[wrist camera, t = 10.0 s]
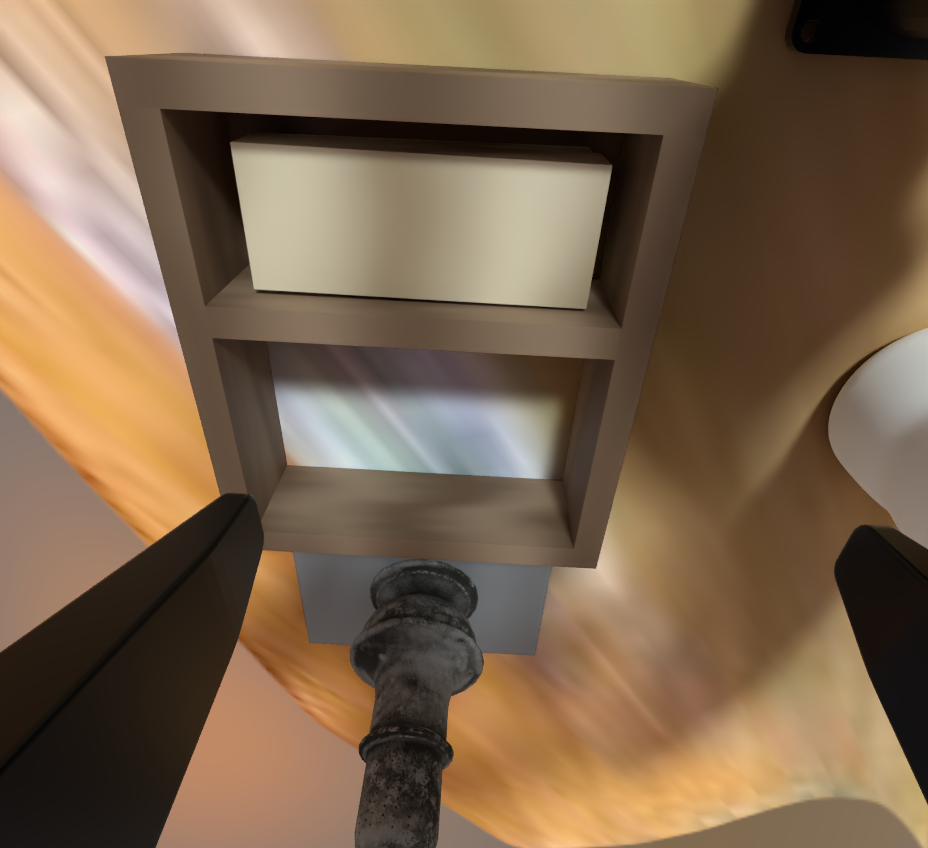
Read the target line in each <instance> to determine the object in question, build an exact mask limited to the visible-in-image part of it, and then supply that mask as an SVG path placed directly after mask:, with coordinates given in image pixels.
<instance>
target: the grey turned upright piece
mask: <svg viewBox="0 0 928 848" xmlns="http://www.w3.org/2000/svg"><path fill="white" fill-rule="evenodd" d="M370 599H371V601H372V604H373V606H374V608H375V609H376V611H375V612H374V613H373V614H372V616H371V617H370V618H369V620H368V621H367V622H366V624H365V626H364V628H363V630H362V632H361V633H360V634H359V635H358V636H357V637H356V638H355V639H354V641H353V644H352V646H351V648H350V662H351V664H352V667H353V669H354V671H355V672H356V674H357V675H358V676H359V677H360V678H361V679H362V680H363V681H364V682H365V683H367V684H368V685H370V686H372V687H373V688H375V704H374V710H373V716H372V721H371V727H370V733H369V734H368V735H367V736H366V737H364V738H363V739H362V741H361V742H360V744H359V754H360V756H361V758H362V760H363V761H364V762H365V763H366V769H365V774H364V780H363V787H362V792H361V798H360V805H359V810H358V816H357V822H356V828H355V848H436V845H437V841H438V831H439V815H440V799H441V783H442V770H443V769H445V768H446V767H448V765H449V764H450V763H451V762H452V759H453V753H454V752H453V749H452V746H451V745H450V744H449V743H448V742H447V741H446V735H447V718H448V705H449V701H450V698H451V696H453V695H455V694H458V693H460V692H462V691H465V690H466V689H467V688H469V687H470V686H471V685H473V684H474V683H475V682H476V681H477V679H478V678H479V676H480V675H481V673H482V669H483V664H484V660H483V656H482V652H481V649H480V648H479V647H478V645H477V643H476V639H475V635H474V632H473V630H472V628H471V625H470V623H469V621H468V619H469V618H470V617H471V616H472V614H473V613H474V611H475V610H476V608H477V603H478V594H477V589H476V586H475V585H474V583H473V582H472V580H471V579H470V578H469V577H468V576H467V575H466V574H465V573H463V572H462V571H461V570H459V569H457V568H455V567H453V566H451V565H450V564H447V563H443V562H440V561H436V560H428V559H412V560H404V561H401V562H397V563H394V564H391V565H390V566H388V567H386V568H384V569H383V570H381V571H380V572H379V573H378V575H377V576H376V577H375V578H374V580H373V582H372V585H371V587H370Z"/></svg>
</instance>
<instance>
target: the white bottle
mask: <svg viewBox="0 0 928 848" xmlns="http://www.w3.org/2000/svg"><path fill="white" fill-rule="evenodd" d="M828 435H829V441H830V444H831V447H832V450H833V452H834V454H835V456H836V457H837V459H838V460H839V462H840V463H841V464H842V466H843V467H844V468H845V469H846V471H847V472H848V473H849V474H850V475H851V476H852V477H853V479H854V480H855V481H856V482H857V483H858V484H859V485H860V486H861V487H862V488H863V489H864V490H865V491H866V492H867V493H868V494H869V495H870V496H871V497H872V498H873V499H874V500H875V501H876V502H877V503H878V504H880V505H881V506H882V507H883V508H884V509H886V510H887V511H888V512H889V514H890V515H891V517H892V519H893V521H894V523H895V524H896V526H897V528H898V529H899V531H900V532H901V533H903V534H904V535H906V536H908V537H909V538H911V539H912V540H914V541H916V542H917V543H919V544H921V545H922V546H924V547H925V548H927V549H928V328H925V329H922V330H919V331H917V332H914V333H912V334H909V335H907V336H905V337H903V338H901V339H899V340H897V341H895V342H893V343H891V344H890V345H888V346H886V347H885V348H883V349H882V350H880V351H879V352H877V353H876V354H875V355H873V356H872V357H871V358H869V359H868V360H867V361H866V362H865V363H863V364H862V365H861V366H860V367H859V368H858V369H857V370H856V371H855V372H854V373H853V375H852V376H851V377H850V378H849V379H848V381H847V382H846V383H845V385H844V386H843V387H842V389H841V391H840V392H839V394H838V396H837V398H836V400H835V402H834V404H833V407H832V410H831V413H830V417H829V423H828Z"/></svg>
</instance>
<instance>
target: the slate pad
mask: <svg viewBox="0 0 928 848" xmlns="http://www.w3.org/2000/svg"><path fill="white" fill-rule="evenodd" d="M293 554H294V560H295V565H296V571H297V576H298V582H299V587H300V593H301V598H302V604H303V609H304V615H305V621H306V626H307V632H308V637H309V643H321V644H339V645H352V644H353V641H354V639H355V638H356V637H357V636H358V635H359V634H360V633H361V632H362V630H363V628H364V626H365V624H366V622H367V621H368V620H369V618H370V617H371V616H372V614H373V613H374V612H375V611H376V609H375V608H374V606H373V604H372V601H371V599H370V587H371V585H372V582H373V580H374V578H375V577H376V576H377V575H378V573H379V572H380V571H381V570H383V569H384V568H386V567H388V566H390V565H391V564H394V563H397V562H401V561H404V560H412V559H415V558H397V557H379V556H361V555H343V554H325V553H307V552H293ZM428 560H433V559H428ZM436 561H440V562H443V563H447V564H450V565H451V566H453V567H455V568H457V569H459V570H461V571H462V572H463V573H465V574H466V575H467V576H468V577H469V578H470V579H471V580H472V582H473V583H474V585H475V586H476V589H477V594H478V603H477V608H476V610H475V611H474V613H473V614H472V616H471V617H470V618H469V619H468V621H469V623H470V625H471V628H472V630H473V632H474V635H475V639H476V643H477V645H478V647H479V648H480V649H481V652H482V653H499V654H517V655H535V651H536V646H537V641H538V635H539V630H540V625H541V619H542V614H543V609H544V604H545V598H546V593H547V588H548V582H549V577H550V572H551V567H552V566H541V565H523V564H505V563H487V562H469V561H451V560H436Z"/></svg>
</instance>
